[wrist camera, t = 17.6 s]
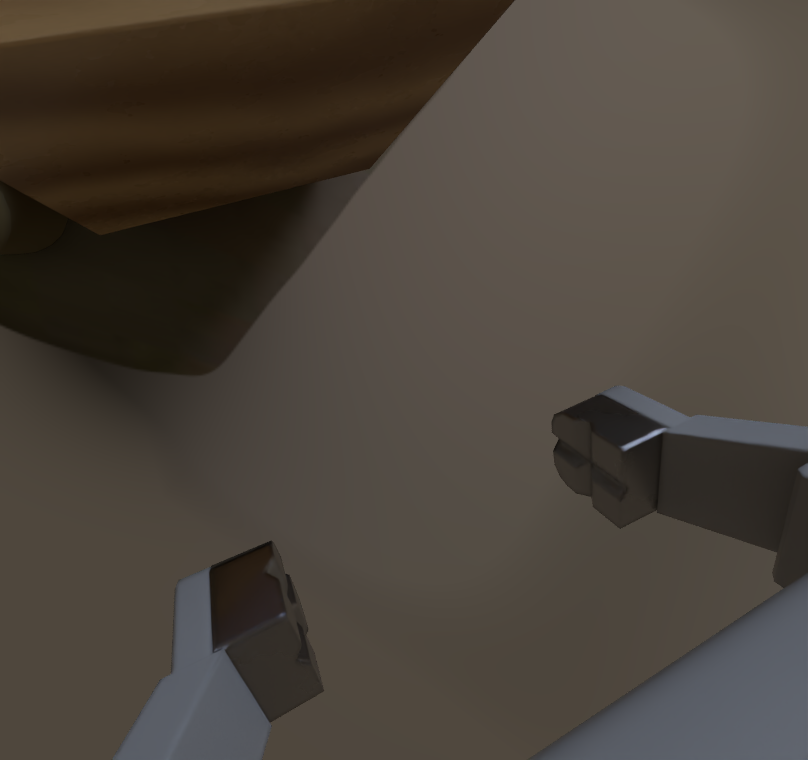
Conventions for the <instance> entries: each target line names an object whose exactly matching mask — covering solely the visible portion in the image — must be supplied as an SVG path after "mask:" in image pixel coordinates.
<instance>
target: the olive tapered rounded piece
mask: <svg viewBox="0 0 808 760" xmlns="http://www.w3.org/2000/svg"><path fill="white" fill-rule="evenodd" d="M67 221H68V218H67V217H65V216H63V215H62V214H60V213H58V212H56V211H54V210H53V209H51V208H49V207H47V206H45V205H43V204H42V203H40V202H38V201H36V200H34V199H32V198H31V197H29V196H27V195H25V194H23V193H22V192H20V191H18V190H16V189H14V188H12V187H11V186H9V185H7V184H5V183H3V182H1V181H0V255H15V254H25V253H34V252H38V251H40V250H42V249H44V248H46V247H49V246H51V245H52V244H53V243H54V242H55V241H56V240H57V239H58V238H59V237H60V236H61V235H62V234H63V231H64V229H65V226H66V224H67Z"/></svg>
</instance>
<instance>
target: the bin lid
mask: <svg viewBox="0 0 808 760" xmlns="http://www.w3.org/2000/svg"><path fill="white" fill-rule="evenodd" d="M513 2H514V0H0V181H1V182H3V183H5V184H7V185H9V186H11V187H12V188H14V189H16V190H18V191H20V192H22V193H23V194H25V195H27V196H29V197H31V198H32V199H34V200H36V201H38V202H40V203H42V204H43V205H45V206H47V207H49V208H51V209H53V210H54V211H56V212H58V213H60V214H62V215H63V216H65V217H67V218H69V219H71V220H73V221H74V222H76V223H78V224H80V225H82V226H84V227H85V228H87V229H89V230H91V231H93V232H95V233H96V234H98V235H103V234H107V233H111V232H115V231H119V230H123V229H127V228H131V227H135V226H139V225H143V224H148V223H152V222H156V221H160V220H164V219H168V218H172V217H176V216H180V215H184V214H188V213H192V212H196V211H200V210H204V209H208V208H212V207H216V206H220V205H225V204H229V203H233V202H237V201H241V200H245V199H249V198H253V197H257V196H261V195H265V194H269V193H273V192H277V191H281V190H285V189H289V188H293V187H297V186H302V185H306V184H310V183H314V182H318V181H322V180H326V179H330V178H334V177H338V176H342V175H346V174H350V173H354V172H358V171H362V170H366V169H370V168H371V167H372V165H373V164H374V163H375V162H376V161H377V160H378V158H379V157H380V156H381V155H382V154H383V153H384V152H385V150H386V149H387V148H388V147H389V146H390V145H391V143H392V142H393V141H394V140H395V139H396V138H397V136H398V135H399V134H400V133H401V132H402V131H403V129H404V128H405V127H406V126H407V125H408V124H409V123H410V121H411V120H412V119H413V118H414V117H415V116H416V114H417V113H418V112H419V111H420V110H421V109H422V107H423V106H424V105H425V104H426V103H427V102H428V100H429V99H430V98H431V97H432V96H433V95H434V93H435V92H436V91H437V90H438V89H439V88H440V87H441V85H442V84H443V83H444V82H445V81H446V80H447V78H448V77H449V76H450V75H451V74H452V73H453V71H454V70H455V69H456V68H457V67H458V66H459V64H460V63H461V62H462V61H463V60H464V59H465V58H466V56H467V55H468V54H469V53H470V52H471V51H472V49H473V48H474V47H475V46H476V45H477V43H478V42H479V41H480V40H481V39H482V38H483V37H484V35H485V34H486V33H487V32H488V31H489V30H490V29H491V27H492V26H493V25H494V24H495V23H496V22H497V20H498V19H499V18H500V17H501V16H502V15H503V13H504V12H505V11H506V10H507V9H508V8H509V6H510V5H511V4H512V3H513Z"/></svg>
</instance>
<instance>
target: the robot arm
mask: <svg viewBox="0 0 808 760" xmlns="http://www.w3.org/2000/svg"><path fill="white" fill-rule="evenodd" d="M552 433H553V434H554V435H556V437H558V438H559V440H558V442H557V444H556V446H555V448H554V451H553V453H554V462H555V466H556V468H557V470H558V473H559V475H560V477H561V478H562V479H563V481H564V482H565V483H566V485H567V486H568V487H570V488H571V489H572V490H573V491H574V492H575V493H577V494H581V495H586V496H590V497H591V498H592V503H593V507H594V508H595V509H596V510H598V511H599V512H600V513H601V514H602V515H604V516H605V517H606V518H608V519H609V520H610V521H611V522H613V523H614V524H615V525H616V526H617V527H619V528H620V529H621V528H623V527H625V526H626V525H629V524H630V523H632V522H634V521H636V520H638V519H640V518H642V517H644V516H646V515H648V514H650V513H652V512H654V511H656V510H657V513H660V514H663V515H666V516H669V517H672V518H675V519H678V520H681V521H684V522H687V523H690V524H693V525H696V526H699V527H702V528H705V529H708V530H711V531H714V532H717V533H720V534H723V535H726V536H729V537H732V538H735V539H738V540H741V541H744V542H747V543H750V544H753V545H756V546H759V547H762V548H765V549H768V550H771V551H774V552H777V556H776V560H775V565H774V568H773V572H772V573H773V578H774V581H775V582H776V583H777V584H779V585H780V586H782V587H783V588H784V589H782V590H781V591H779V592H778V593H776V594H775V595H773V596H772V597H770V598H769V599H767V600H766V601H764V602H763V603H761V604H760V605H758V606H757V607H755V608H754V609H752V610H751V611H749V612H748V613H746V614H745V615H743V616H742V617H740V618H739V619H737V620H736V621H734V622H733V623H731V624H730V625H728V626H727V627H725V628H724V629H722V630H721V631H719V632H718V633H716V634H715V635H714V636H712V637H710V638H709V639H707V640H706V641H704V642H703V643H701V644H700V645H698V646H697V647H696V648H694V649H692V650H691V651H689V652H688V653H686V654H685V655H683V656H682V657H680V658H679V659H677V660H676V661H674V662H673V663H671V664H670V665H668V666H667V667H665V668H664V669H663V670H661V671H660V672H658V673H656V674H655V675H653V676H652V677H650V678H649V679H647V680H646V681H645V682H643V683H642V684H640V685H639V686H637V687H636V688H634V689H632V690H631V691H629V692H628V693H626V694H625V695H624V696H622V697H620V698H619V699H618V700H616V701H615V702H613V703H611V704H610V705H608V706H607V707H605V708H604V709H602V710H601V711H600V712H598V713H597V714H595V715H594V716H592V717H591V718H589V719H588V720H586V721H585V722H583V723H582V724H580V725H579V726H577V727H576V728H574V729H573V730H571V731H570V732H568V733H567V734H565V735H564V736H562V737H561V738H559V739H558V740H557V741H555V742H553V743H552V744H550V745H549V746H547V747H546V748H544V749H543V750H541V751H540V752H538V753H537V754H535V755H534V756H532V757H531V758H529V759H528V760H808V427H804V426H794V425H786V424H777V423H768V422H758V421H750V420H740V419H730V418H722V417H712V416H703V415H695V416H693V417H691V418H690V417H688V416H686V415H683V414H682V413H680V412H677V411H675V410H673V409H671V408H669V407H667V406H665V405H663V404H661V403H658V402H657V401H654V400H652V399H650V398H648V397H646V396H644V395H642V394H639V393H637V392H635V391H633V390H631V389H629V388H627V387H625V386H614V387H612V388H610V389H608V390H605V391H603V392H602V393H599V394H597V395H595V397H592V398H590V399H588V400H585V401H583V402H581V403H579V404H576V405H574V406H572V407H570V408H568V409H566V410H563V411H561V412H559V413H557V414H554V417H553V420H552ZM307 632H308V626H307V622H306V619H305V615H304V612H303V609H302V606H301V603H300V599H299V597H298V594H297V592H296V589H295V587H294V584H293V582H292V580H291V577H290V575H288V574H285V571H284V567H283V563H282V559H281V556H280V554H279V552H278V550H277V548H276V546H275V544H274V542H273V541H269V542H267V543H265V544H262V545H260V546H257V547H255V548H253V549H250V550H248V551H246V552H243V553H241V554H238V555H236V556H234V557H231V558H229V559H226V560H224V561H222V562H219V563H217V564H215V565H212V566H211V567H209V568H207V569H204V570H202V571H199V572H197V573H195V574H192V575H190V576H188V577H185V578H183V579H180V580H179V581H178V583H177V585H176V588H175V598H174V620H173V641H172V665H171V675H169V676H167V677H165V678H163V679H161V680H160V681H159V683H158V684H157V686H156V687H155V689H154V691H153V692H152V694H151V696H150V698H149V699H148V701H147V703H146V704H145V706H144V707H143V709H142V711H141V712H140V714H139V716H138V718H137V719H136V721H135V722H134V724H133V726H132V727H131V729H130V731H129V732H128V734H127V736H126V737H125V739H124V741H123V742H122V744H121V746H120V747H119V749H118V751H117V752H116V754H115V756H114V757H113V759H112V760H262V758H263V754H264V751H265V747H266V744H267V740H268V737H269V733H270V730H271V727H272V726H271V724H270V722H272V721H274V720H275V719H277V718H279V717H280V716H282V715H284V714H286V713H287V712H289V711H291V710H292V709H294V708H296V707H298V706H299V705H301V704H303V703H304V702H306V701H308V700H310V699H311V698H313V697H315V696H316V695H318V694H320V693H321V692H323V691H324V689H323V685H322V681H321V677H320V673H319V669H318V665H317V661H316V657H315V653H314V651H313V649H312V646H311V645H310V642H309V640H308V638H307V636H306V634H307Z"/></svg>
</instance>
